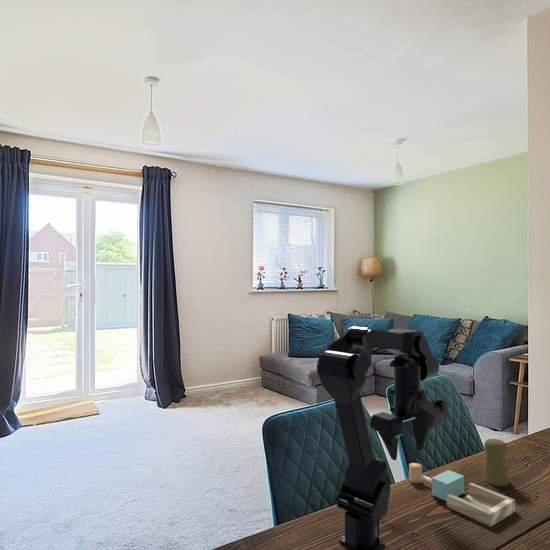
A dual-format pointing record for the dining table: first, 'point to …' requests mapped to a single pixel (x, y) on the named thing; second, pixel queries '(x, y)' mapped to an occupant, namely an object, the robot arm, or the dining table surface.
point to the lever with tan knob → (439, 481)
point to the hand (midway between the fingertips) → (407, 454)
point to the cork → (495, 463)
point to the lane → (482, 505)
